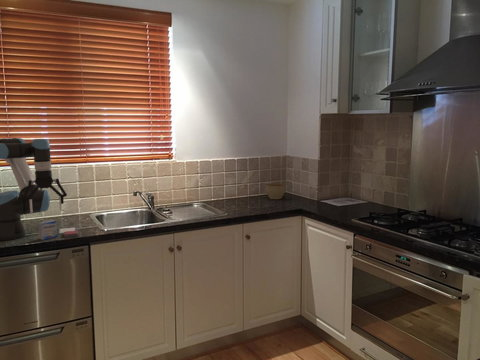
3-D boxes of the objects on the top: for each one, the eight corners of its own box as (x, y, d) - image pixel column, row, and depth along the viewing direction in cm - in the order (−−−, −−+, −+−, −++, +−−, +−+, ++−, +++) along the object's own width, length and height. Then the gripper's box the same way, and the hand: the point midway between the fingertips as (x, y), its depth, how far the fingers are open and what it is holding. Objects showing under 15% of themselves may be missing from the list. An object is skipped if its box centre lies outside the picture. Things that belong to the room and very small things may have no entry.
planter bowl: (286, 196, 325) (286, 183, 323) (285, 200, 309) (285, 186, 307) (265, 196, 327) (265, 182, 325) (264, 200, 311) (264, 185, 310)
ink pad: (63, 237, 214) (63, 234, 214) (64, 234, 220) (64, 231, 220) (78, 236, 216) (78, 233, 216) (78, 232, 223) (78, 230, 223)
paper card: (57, 234, 220) (57, 233, 220) (58, 228, 232) (58, 227, 232) (77, 232, 223) (76, 231, 223) (77, 227, 235) (77, 226, 235)
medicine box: (43, 240, 209) (41, 223, 208) (38, 239, 212) (37, 222, 210) (57, 236, 216) (56, 220, 214) (52, 235, 218) (51, 219, 217)
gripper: (14, 171, 201) (17, 214, 204) (69, 169, 210) (72, 210, 212) (16, 170, 208) (19, 212, 211) (70, 167, 216) (72, 207, 219)
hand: (46, 211), depth 211 cm, fingers open, 13 cm apart
